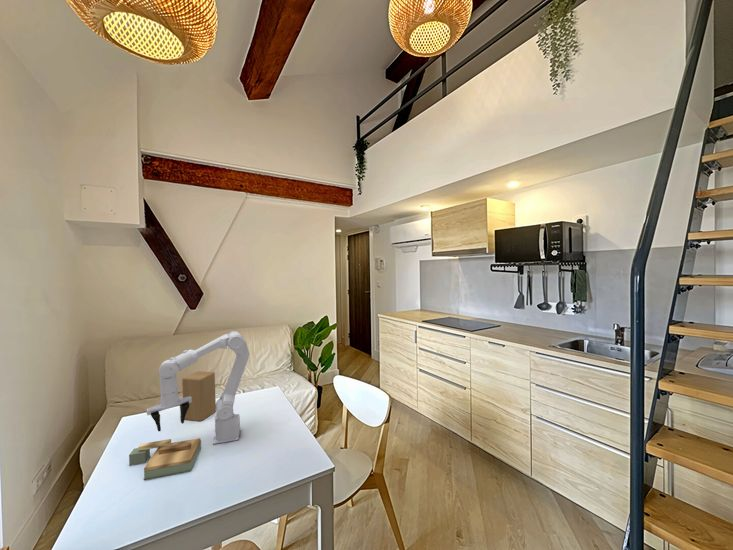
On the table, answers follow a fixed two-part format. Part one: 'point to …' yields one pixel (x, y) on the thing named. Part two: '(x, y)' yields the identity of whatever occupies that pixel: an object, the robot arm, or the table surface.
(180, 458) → the lid
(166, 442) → the light wooden bar
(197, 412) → the wooden block
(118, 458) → the table surface
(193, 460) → the green piece
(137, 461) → the block
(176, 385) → the robot arm
